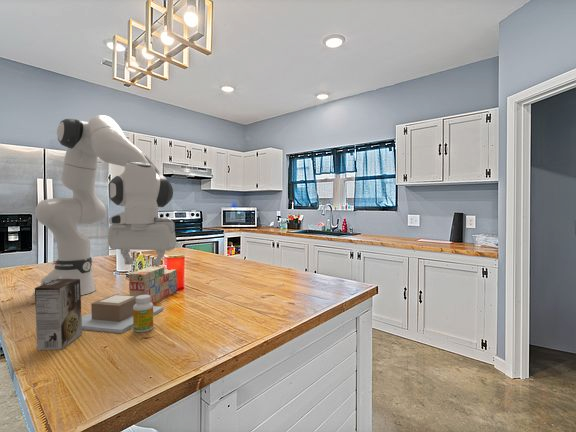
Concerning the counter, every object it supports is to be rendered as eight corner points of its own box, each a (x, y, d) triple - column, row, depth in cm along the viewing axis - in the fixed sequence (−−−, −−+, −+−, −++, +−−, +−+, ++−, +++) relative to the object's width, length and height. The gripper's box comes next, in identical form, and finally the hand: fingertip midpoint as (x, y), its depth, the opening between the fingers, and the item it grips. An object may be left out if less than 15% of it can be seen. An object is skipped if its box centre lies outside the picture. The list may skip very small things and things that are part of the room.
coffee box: (58, 335, 87) (57, 278, 87) (82, 334, 88) (81, 278, 87) (35, 350, 78) (33, 287, 78) (62, 349, 79) (60, 286, 78)
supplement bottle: (138, 334, 88) (137, 300, 88) (130, 329, 92) (129, 296, 91) (156, 328, 92) (156, 296, 92) (148, 323, 96) (148, 292, 95)
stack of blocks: (164, 290, 133) (163, 261, 132) (177, 291, 132) (177, 262, 131) (129, 306, 112) (128, 272, 111) (144, 308, 111) (144, 273, 110)
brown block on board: (63, 327, 93) (63, 306, 93) (114, 305, 112) (113, 288, 112) (122, 333, 89) (121, 311, 89) (163, 309, 108) (163, 292, 108)
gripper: (180, 217, 92) (181, 263, 92) (119, 217, 96) (120, 261, 96) (167, 218, 85) (168, 268, 86) (103, 218, 89) (105, 265, 90)
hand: (142, 264), depth 91 cm, fingers open, 8 cm apart
